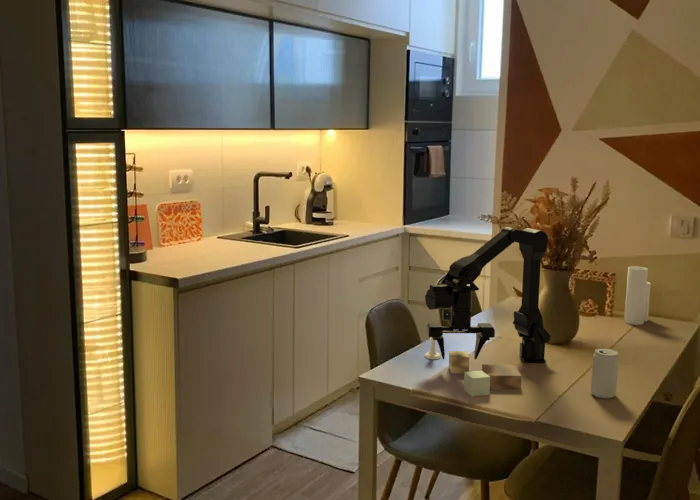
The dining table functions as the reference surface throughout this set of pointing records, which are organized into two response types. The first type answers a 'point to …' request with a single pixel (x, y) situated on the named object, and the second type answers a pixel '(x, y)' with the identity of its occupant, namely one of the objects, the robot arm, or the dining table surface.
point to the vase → (637, 296)
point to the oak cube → (458, 361)
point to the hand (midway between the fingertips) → (459, 358)
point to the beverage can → (604, 373)
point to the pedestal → (503, 376)
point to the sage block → (476, 383)
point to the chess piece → (432, 351)
